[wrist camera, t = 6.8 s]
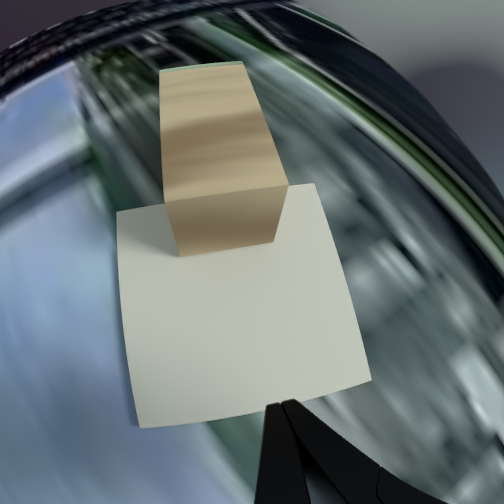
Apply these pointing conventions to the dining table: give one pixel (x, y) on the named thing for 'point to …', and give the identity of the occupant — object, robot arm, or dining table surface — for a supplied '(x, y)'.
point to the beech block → (217, 160)
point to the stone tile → (235, 318)
